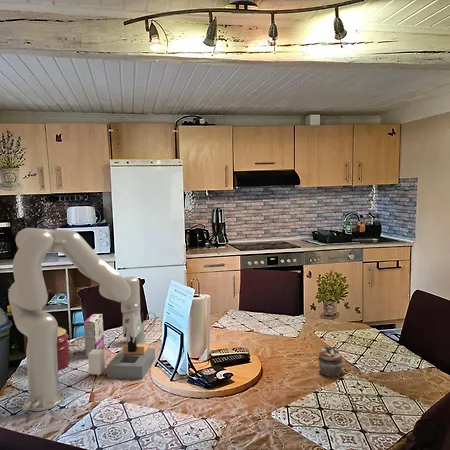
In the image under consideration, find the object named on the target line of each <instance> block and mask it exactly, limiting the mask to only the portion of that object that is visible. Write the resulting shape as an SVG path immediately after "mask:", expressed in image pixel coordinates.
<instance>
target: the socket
mask: <svg viewBox="0 0 450 450" xmlns="http://www.w3.org/2000/svg"><path fill="white" fill-rule="evenodd" d="M155 360H156V348H155V347H149V348H148V350H147V351H146V352H145V354H123V347H122V348H121V349H120V350H119V352H117V354H116V355H115V356H114V357H113V358H112V359H111V360H110V361H109V363H108V364H107V365H106V373H107V378H108V379H133V380H134V379H137V380H139V379H140V380H144V378H145V375H146V374H148V371H149V370H150V368H151V366H152V365H153V364H154V361H155Z"/></svg>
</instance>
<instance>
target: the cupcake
mask: <svg viewBox="0 0 450 450" xmlns="http://www.w3.org/2000/svg"><path fill="white" fill-rule="evenodd" d="M318 365H319V369H320V370H319V371H320V373H321V374H322V375H324V376H327V377H338V376H340V375H341V374H342V370H343V366H344V359H343V358H342V355H341V353H340V349H339V348H338V347H337V346H329V345H327V344H326V345H325V346H324V347H323V348H321V349H320V351H319V353H318Z"/></svg>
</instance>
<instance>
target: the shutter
mask: <svg viewBox="0 0 450 450" xmlns="http://www.w3.org/2000/svg"><path fill="white" fill-rule="evenodd" d="M122 348H123V354H145V352H146V351H147V350H148V348H151V346H150V344H142V345H138V344H137V350H136V352H128V345H127V344H125V345H122Z"/></svg>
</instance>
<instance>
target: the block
mask: <svg viewBox="0 0 450 450" xmlns="http://www.w3.org/2000/svg"><path fill="white" fill-rule="evenodd" d="M87 359H88V360H87V361H88V374H90V375H92V376H93V377H94V376H96V377H97V378H100V377H101V375H103V371H105V370H106V361H105V359H106V358H105V349H103V350H99V349H93V350H92V351H91V352H90V353H89V354H88V358H87Z"/></svg>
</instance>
